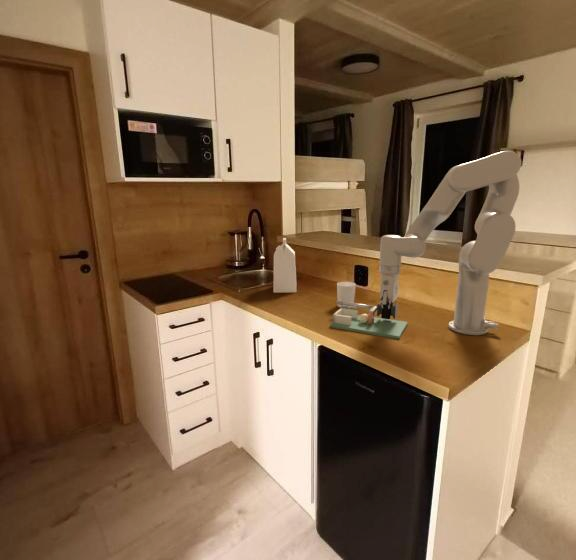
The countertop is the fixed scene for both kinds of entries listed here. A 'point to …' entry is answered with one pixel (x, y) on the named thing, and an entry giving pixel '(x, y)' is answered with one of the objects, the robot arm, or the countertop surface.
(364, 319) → the ball
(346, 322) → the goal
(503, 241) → the robot arm
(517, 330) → the countertop surface
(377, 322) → the board
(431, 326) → the countertop surface
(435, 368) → the countertop surface
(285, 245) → the milk
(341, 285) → the white cup
